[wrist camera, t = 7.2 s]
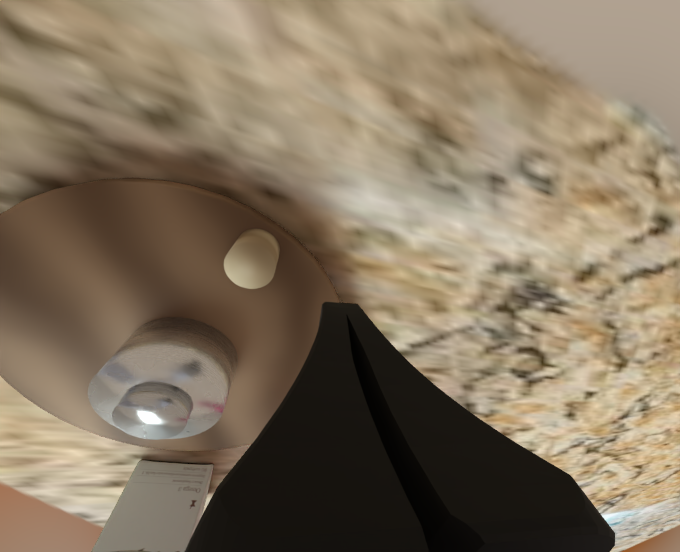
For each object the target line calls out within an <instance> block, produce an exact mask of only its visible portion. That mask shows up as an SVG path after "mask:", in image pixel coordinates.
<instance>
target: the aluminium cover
mask: <svg viewBox="0 0 680 552" xmlns="http://www.w3.org/2000/svg"><path fill="white" fill-rule="evenodd" d="M237 365H238V356H237V352H236V349H235V347H234V345H233V344H232V342H231V341H230V340H229V339H228V338H227V337H226V336H225V335H224V334H223V333H222V332H220V331H219V330H217V329H216V328H214V327H212V326H210V325H208V324H206V323H203V322H201V321H198V320H194V319H189V318H182V317H166V318H159V319H155V320H152V321H149V322H147V323H145V324H143V325H141V326H140V327H139V328H137V329H136V330H135V331H134V332H133V334H132V335H131V336H130V337H129V338H128V339H127V340H126V341H125V343H124V344H123V345H122V346H121V347H120V348H119V349H118V350H117V351H116V353H115V354H114V355H113V356H112V357H111V358H110V359H109V360H108V362H107V363H106V364H105V365H104V366H103V367H102V368H101V369H100V370H99V372H98V373H97V374H96V375H95V376H94V377H93V378H92V380H91V382H90V384H89V387H88V398H89V401H90V404H91V406H92V407H93V409H94V410H95V412H96V413H97V414H98V415H99V416H100V417H101V418H103V419H104V420H105V421H107V422H108V423H109V424H111V425H113V426H115V427H116V428H119V429H120V430H122V431H123V432H125V433H127V434H129V435H132V436H135V437H138V438H143V439H152V440H158V439H178V438H185V437H190V436H194V435H197V434H200V433H202V432H204V431H206V430H208V429H209V428H211V427H212V426H213V425H215V424H216V423H217V422H218V421H219V419H220V418H221V416H222V413H223V411H224V407H225V404H226V401H227V398H228V395H229V391H230V388H231V385H232V382H233V379H234V375H235V372H236V369H237Z"/></svg>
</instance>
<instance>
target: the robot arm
mask: <svg viewBox="0 0 680 552" xmlns="http://www.w3.org/2000/svg"><path fill="white" fill-rule="evenodd" d="M614 546H615V533H614V531H613V530H612V529H611V527H610V526H609V525H608V523H607V522H606V521H605V520H604V518H603V517H602V516H601V514H600V513H599V512H598V510H597V509H596V508H595V507H594V505H593V504H592V503H591V501H590V500H589V499H588V497H587V496H586V495H585V493H584V492H583V491H582V490H581V488H580V487H579V486H578V484H577V483H576V482H575V480H574V479H573V478H572V477H571V476H570V475H569V474H567V473H566V472H564V471H562V470H561V469H559V468H557V467H555V466H554V465H552V464H550V463H549V462H547V461H545V460H544V459H542V458H540V457H539V456H537V455H535V454H534V453H532V452H530V451H529V450H527V449H525V448H523V447H522V446H520V445H518V444H517V443H515V442H514V441H512V440H510V439H509V438H507V437H506V436H504V435H503V434H501V433H500V432H498V431H497V430H495V429H494V428H492V427H491V426H489V425H488V424H486V423H485V422H483V421H482V420H480V419H479V418H477V417H476V416H475V415H473V414H472V413H470V412H469V411H468V410H466V409H465V408H464V407H462V406H461V405H460V404H458V403H457V402H456V401H454V400H453V399H452V398H450V397H449V396H448V395H446V394H445V393H444V392H443V391H441V390H440V389H439V388H438V387H436V386H435V385H434V384H433V383H432V382H431V381H429V380H428V379H427V378H426V377H425V376H424V375H422V374H421V373H420V372H419V371H418V370H417V369H416V368H415V367H414V366H413V365H411V364H410V363H409V362H408V361H407V360H406V359H405V358H404V357H403V356H402V355H401V354H400V353H399V352H398V351H397V350H396V349H395V347H394V346H393V345H392V344H391V343H390V342H389V341H388V340H387V339H386V338H385V337H384V335H383V334H382V333H381V332H380V331H379V330H378V328H377V327H376V326H375V325H374V324H373V322H372V321H371V320H370V319H369V318H368V316H367V315H366V314H365V313H364V311H363V310H362V309H361V308H360V306H359V305H358V304H350V303H337V302H324V303H323V304H322V308H321V314H320V321H319V327H318V332H317V335H316V338H315V340H314V343H313V345H312V347H311V350H310V352H309V354H308V357H307V359H306V361H305V363H304V365H303V367H302V369H301V370H300V372H299V374H298V376H297V378H296V380H295V381H294V383H293V385H292V386H291V388H290V390H289V391H288V393H287V395H286V396H285V398H284V399H283V401H282V402H281V404H280V406H279V407H278V409H277V410H276V411H275V413H274V414H273V416H272V417H271V418H270V420H269V421H268V423H267V424H266V425H265V427H264V428H263V430H262V431H261V433H260V434H259V435H258V437H257V438H256V439H255V441H254V442H253V443H252V445H251V446H250V447H249V449H248V450H247V451H246V452H245V454H244V455H243V456H242V457H241V458H240V460H239V461H238V462H237V463H236V465H235V466H234V467H233V468H232V470H231V471H230V472H229V473H228V475H227V476H226V477H225V478H224V480H223V481H222V482H221V483H220V485H219V486H218V487H217V489H216V491H215V493H214V495H213V496H212V498H211V500H210V502H209V504H208V506H207V508H206V509H205V511H204V513H203V515H202V517H201V519H200V521H199V523H198V525H197V527H196V529H195V531H194V533H193V535H192V537H191V539H190V541H189V543H188V545H187V548H186V550H185V552H610V550H611V549H612V548H613V547H614Z"/></svg>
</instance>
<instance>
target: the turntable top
mask: <svg viewBox="0 0 680 552" xmlns="http://www.w3.org/2000/svg"><path fill="white" fill-rule="evenodd" d="M324 302H337V303H340V301H339V299H338V296H337V293H336V291H335V288H334V287H333V285H332V283H331V281H330V279H329V278H328V276H327V274H326V272H325V271H324V270H323V268H322V267H321V266H320V264H319V263H318V262H317V260H316V259H315V258H314V256H313V255H312V254H311V253H310V252H309V251H308V250H307V249H306V248H305V247H304V246H303V245H302V244H301V243H300V242H299V241H298V240H297V239H296V238H295V237H294V236H292V235H291V234H290V233H288V232H287V231H286V230H285V229H283V228H282V227H281V226H279V225H278V224H277V223H276V222H274V221H272V220H271V219H269V218H267V217H266V216H264V215H262V214H261V213H259V212H257V211H256V210H254V209H252V208H250V207H248V206H246V205H244V204H242V203H239V202H237V201H235V200H233V199H231V198H228V197H226V196H224V195H221V194H217V193H214V192H211V191H208V190H205V189H202V188H199V187H196V186H191V185H186V184H181V183H176V182H171V181H166V180H154V179H141V178H122V179H103V180H97V181H92V182H87V183H82V184H77V185H72V186H67V187H62V188H57V189H53V190H50V191H47V192H45V193H42V194H39V195H37V196H34V197H31V198H28V199H26V200H24V201H22V202H20V203H19V204H17V205H15V206H13V207H12V208H10V209H8V210H7V211H5V212H3V213H2V214H0V376H1V377H2V378H3V379H4V380H5V381H6V382H7V383H8V384H10V385H11V386H12V387H13V388H14V389H16V390H17V391H18V392H19V393H20V394H22V395H23V396H24V397H25V398H27V399H28V400H30V401H31V402H33V403H34V404H36V405H37V406H39V407H40V408H42V409H43V410H45V411H47V412H48V413H50V414H52V415H54V416H56V417H57V418H59V419H61V420H63V421H65V422H67V423H70V424H72V425H74V426H76V427H78V428H81V429H83V430H86V431H88V432H91V433H94V434H96V435H99V436H102V437H105V438H109V439H112V440H116V441H119V442H123V443H128V444H132V445H137V446H142V447H148V448H155V449H163V450H175V451H207V450H220V449H227V448H234V447H239V446H244V445H249V444H252V443H253V442H254V441H255V439H256V438H257V437H258V435H259V434H260V433H261V431H262V430H263V428H264V427H265V425H266V424H267V423H268V421H269V420H270V418H271V417H272V416H273V414H274V413H275V411H276V410H277V409H278V407H279V406H280V404H281V402H282V401H283V399H284V398H285V396H286V395H287V393H288V391H289V390H290V388H291V386H292V385H293V383H294V381H295V380H296V378H297V376H298V374H299V372H300V370H301V369H302V367H303V365H304V363H305V361H306V359H307V357H308V354H309V352H310V350H311V347H312V345H313V343H314V340H315V338H316V335H317V332H318V327H319V321H320V314H321V308H322V304H323V303H324ZM166 317H182V318H189V319H194V320H198V321H201V322H203V323H206V324H208V325H210V326H212V327H214V328H216V329H217V330H219V331H220V332H222V333H223V334H224V335H225V336H226V337H227V338H228V339H229V340H230V341H231V342H232V344H233V345H234V347H235V349H236V352H237V356H238V365H237V369H236V372H235V375H234V379H233V382H232V385H231V388H230V391H229V395H228V398H227V401H226V404H225V407H224V411H223V413H222V416H221V418H220V419H219V421H218V422H217V423H216V424H215V425H213V426H212V427H211V428H209V429H208V430H206V431H204V432H202V433H200V434H197V435H194V436H190V437H185V438H178V439H158V440H152V439H143V438H138V437H135V436H132V435H129V434H127V433H125V432H123V431H122V430H120V429H119V428H116V427H115V426H113V425H111V424H109V423H108V422H107V421H105V420H104V419H103V418H101V417H100V416H99V415H98V414H97V413H96V412H95V410H94V409H93V407H92V406H91V404H90V401H89V398H88V387H89V384H90V382H91V380H92V378H93V377H94V376H95V375H96V374H97V373H98V372H99V370H100V369H101V368H102V367H103V366H104V365H105V364H106V363H107V362H108V360H109V359H110V358H111V357H112V356H113V355H114V354H115V353H116V351H117V350H118V349H119V348H120V347H121V346H122V345H123V344H124V343H125V341H126V340H127V339H128V338H129V337H130V336H131V335H132V334H133V332H134V331H135V330H136V329H137V328H139V327H140V326H141V325H143V324H145V323H147V322H149V321H152V320H155V319H159V318H166Z"/></svg>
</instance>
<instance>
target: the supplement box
mask: <svg viewBox="0 0 680 552" xmlns="http://www.w3.org/2000/svg"><path fill="white" fill-rule="evenodd" d="M212 471H213V464H210V465H196V464H179V463H166V462H152V461H148V460H141V461H139V462H138V464H137V466H136V468H135V469H134V471H133V473H132V475H131V477H130V479H129V481H128V483H127V484H126V486H125V488H124V490H123V492H122V494H121V496H120V498H119V500H118V502H117V504H116V506H115V508H114V509H113V511H112V513H111V515H110V517H109V519H108V521H107V523H106V525H105V527H104V528H103V530H102V532H101V534H100V536H99V538H98V540H97V542H96V544H95V546H94V548H93V549H92V551H91V552H185V550H186V548H187V545H188V543H189V541H190V539H191V537H192V535H193V533H194V531H195V529H196V527H197V525H198V523H199V521H200V519H201V516H202V512H203V509H204V505H205V502H206V498H207V494H208V490H209V485H210V480H211V476H212Z"/></svg>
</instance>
